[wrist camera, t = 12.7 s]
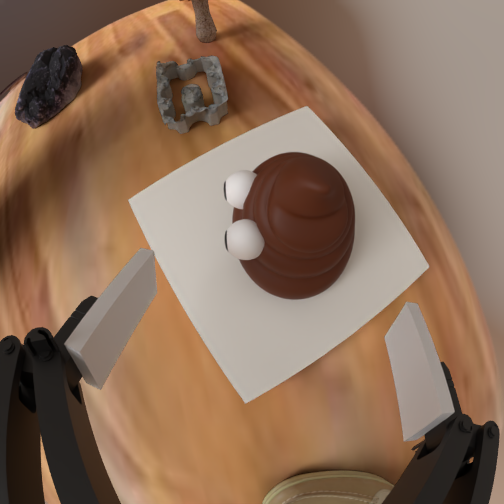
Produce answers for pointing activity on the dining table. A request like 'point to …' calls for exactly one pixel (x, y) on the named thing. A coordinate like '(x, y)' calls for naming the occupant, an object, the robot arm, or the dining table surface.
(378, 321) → the dining table surface
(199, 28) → the mushroom
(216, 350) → the podium
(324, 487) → the boat shoe
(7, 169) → the dining table surface
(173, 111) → the stone castle ruin
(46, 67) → the crystal cluster
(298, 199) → the poop emoji
